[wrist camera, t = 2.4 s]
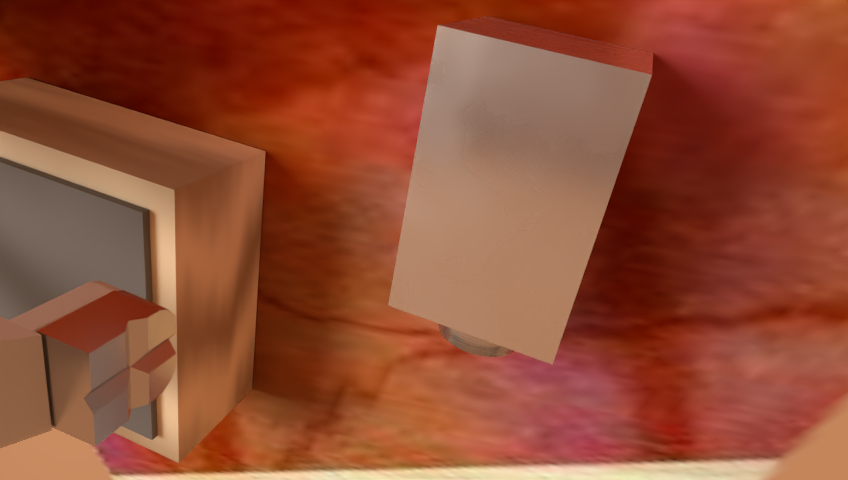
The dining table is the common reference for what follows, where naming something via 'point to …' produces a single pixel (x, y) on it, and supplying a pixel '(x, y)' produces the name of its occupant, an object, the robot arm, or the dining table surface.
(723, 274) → the dining table surface
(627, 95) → the block
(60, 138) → the stand
